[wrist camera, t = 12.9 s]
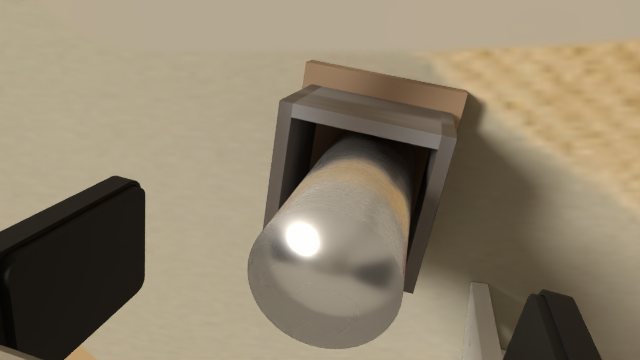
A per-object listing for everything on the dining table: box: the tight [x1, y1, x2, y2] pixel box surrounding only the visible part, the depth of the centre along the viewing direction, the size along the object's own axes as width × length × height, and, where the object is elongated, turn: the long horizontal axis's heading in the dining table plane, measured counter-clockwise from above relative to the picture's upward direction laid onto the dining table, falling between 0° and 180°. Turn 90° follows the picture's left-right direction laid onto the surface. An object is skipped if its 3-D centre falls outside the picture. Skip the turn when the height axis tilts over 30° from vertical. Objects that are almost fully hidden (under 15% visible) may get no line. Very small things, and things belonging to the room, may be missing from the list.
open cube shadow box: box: [263, 60, 468, 294], centre depth 19 cm, size 7×8×6 cm
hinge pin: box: [248, 129, 415, 349], centre depth 16 cm, size 4×4×10 cm
